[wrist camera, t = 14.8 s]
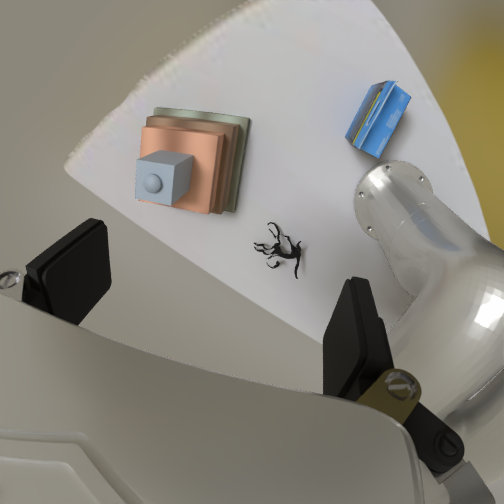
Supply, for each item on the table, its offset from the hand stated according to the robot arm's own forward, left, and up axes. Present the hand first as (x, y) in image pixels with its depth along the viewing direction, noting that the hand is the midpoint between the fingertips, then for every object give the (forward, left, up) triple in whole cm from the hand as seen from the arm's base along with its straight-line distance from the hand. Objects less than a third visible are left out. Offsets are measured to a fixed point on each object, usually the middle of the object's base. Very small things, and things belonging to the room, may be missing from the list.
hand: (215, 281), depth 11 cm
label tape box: (-11, -7, -35) cm, 37 cm away
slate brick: (+12, +4, -26) cm, 29 cm away
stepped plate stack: (+12, +4, -34) cm, 37 cm away
